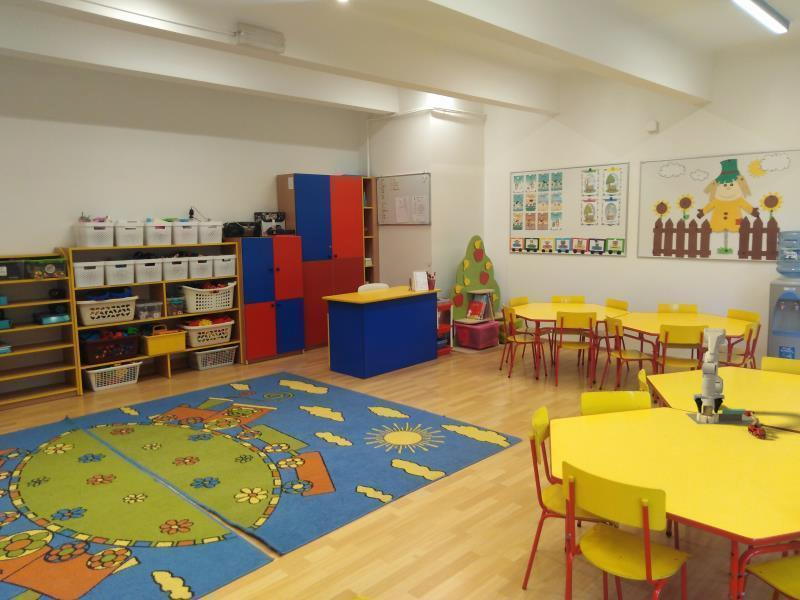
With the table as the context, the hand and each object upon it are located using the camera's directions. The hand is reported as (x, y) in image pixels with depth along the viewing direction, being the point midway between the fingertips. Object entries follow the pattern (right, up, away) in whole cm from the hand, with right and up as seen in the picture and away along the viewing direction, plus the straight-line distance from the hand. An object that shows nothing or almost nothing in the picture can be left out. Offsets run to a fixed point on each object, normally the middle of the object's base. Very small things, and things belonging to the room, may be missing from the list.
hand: (707, 412), depth 300 cm
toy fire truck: (+14, -7, -16) cm, 23 cm away
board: (+8, -4, +2) cm, 10 cm away
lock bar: (+13, 0, -1) cm, 13 cm away
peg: (0, -4, +1) cm, 4 cm away
